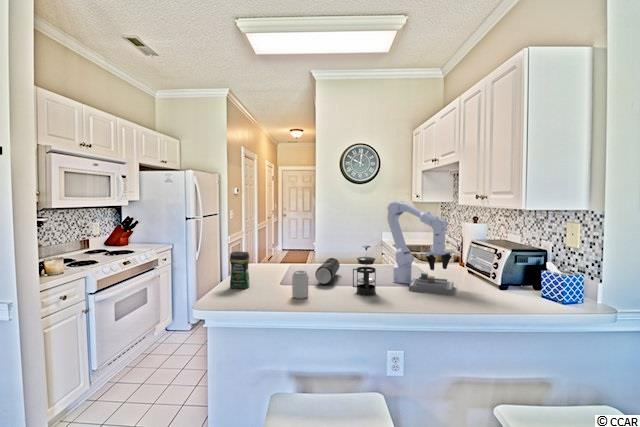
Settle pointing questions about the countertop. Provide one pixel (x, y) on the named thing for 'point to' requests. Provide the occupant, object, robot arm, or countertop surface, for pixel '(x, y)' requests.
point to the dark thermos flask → (327, 271)
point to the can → (300, 284)
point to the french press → (365, 276)
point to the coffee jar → (239, 270)
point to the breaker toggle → (431, 279)
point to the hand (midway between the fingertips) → (438, 269)
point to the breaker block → (431, 285)
